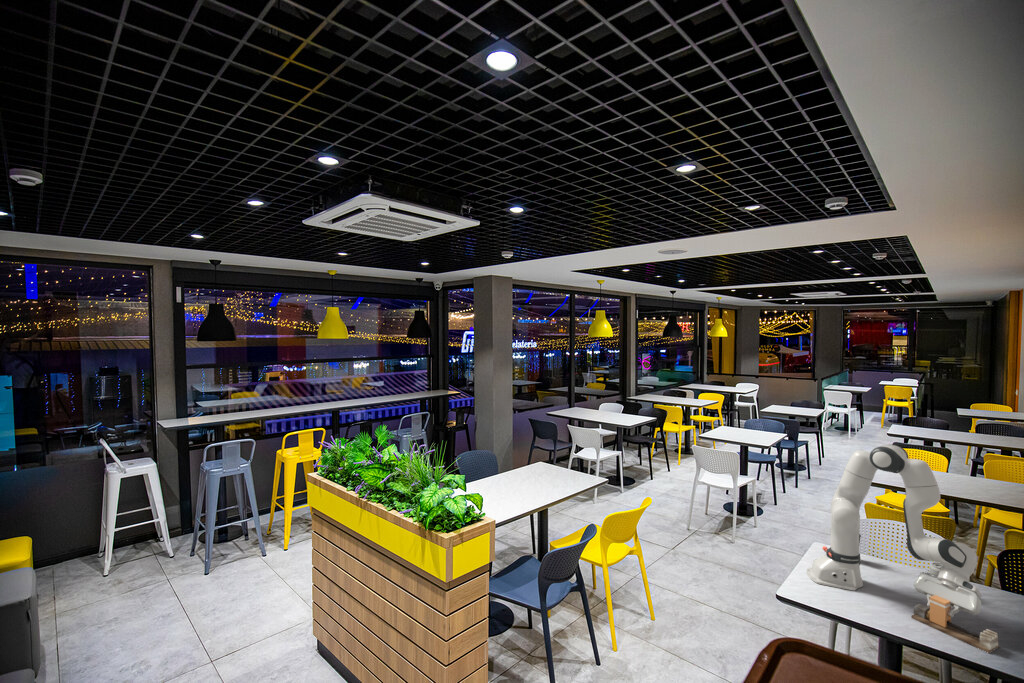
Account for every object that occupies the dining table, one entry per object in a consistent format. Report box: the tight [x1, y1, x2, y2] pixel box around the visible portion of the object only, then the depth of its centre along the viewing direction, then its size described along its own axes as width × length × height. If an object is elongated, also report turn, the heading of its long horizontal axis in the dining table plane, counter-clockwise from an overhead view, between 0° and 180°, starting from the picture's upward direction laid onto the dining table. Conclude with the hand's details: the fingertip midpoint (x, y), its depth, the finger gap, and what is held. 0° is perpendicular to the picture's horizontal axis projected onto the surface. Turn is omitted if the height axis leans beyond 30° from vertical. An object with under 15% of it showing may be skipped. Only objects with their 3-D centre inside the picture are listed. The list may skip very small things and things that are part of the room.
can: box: [928, 561, 943, 576], centre depth 215 cm, size 8×8×12 cm
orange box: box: [929, 595, 952, 627], centre depth 189 cm, size 5×4×10 cm
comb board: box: [910, 603, 1000, 654], centre depth 186 cm, size 24×8×6 cm, turn 25°
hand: (939, 611), depth 189 cm, fingers open, 5 cm apart
